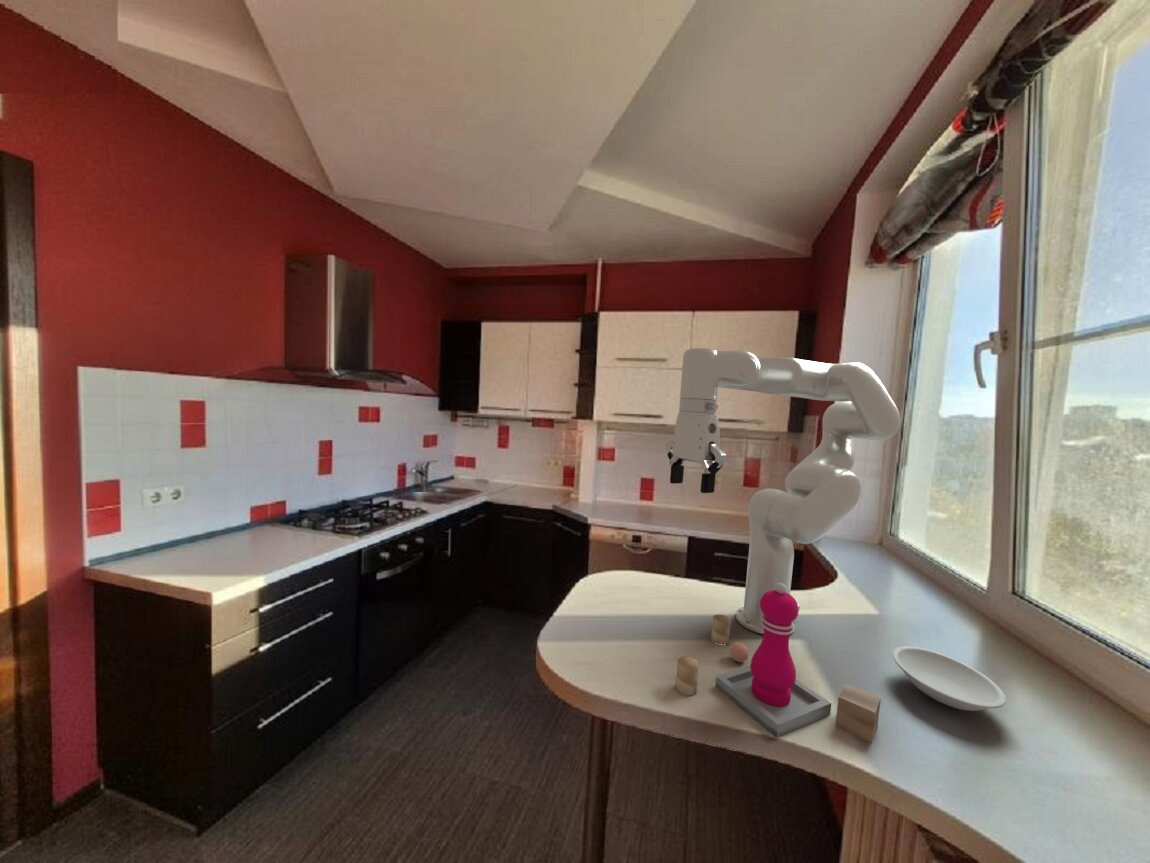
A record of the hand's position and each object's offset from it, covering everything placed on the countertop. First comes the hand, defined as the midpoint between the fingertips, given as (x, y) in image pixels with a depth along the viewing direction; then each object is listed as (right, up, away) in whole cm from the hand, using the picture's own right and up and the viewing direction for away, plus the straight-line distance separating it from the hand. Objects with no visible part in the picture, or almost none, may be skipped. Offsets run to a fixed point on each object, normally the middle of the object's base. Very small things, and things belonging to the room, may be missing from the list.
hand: (691, 487), depth 97 cm
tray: (+9, -35, -19) cm, 40 cm away
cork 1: (-5, -34, -17) cm, 38 cm away
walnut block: (+21, -36, -24) cm, 48 cm away
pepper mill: (+9, -34, -19) cm, 40 cm away
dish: (+41, -36, -16) cm, 57 cm away
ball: (+8, -32, -7) cm, 33 cm away
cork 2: (+6, -33, 0) cm, 33 cm away
